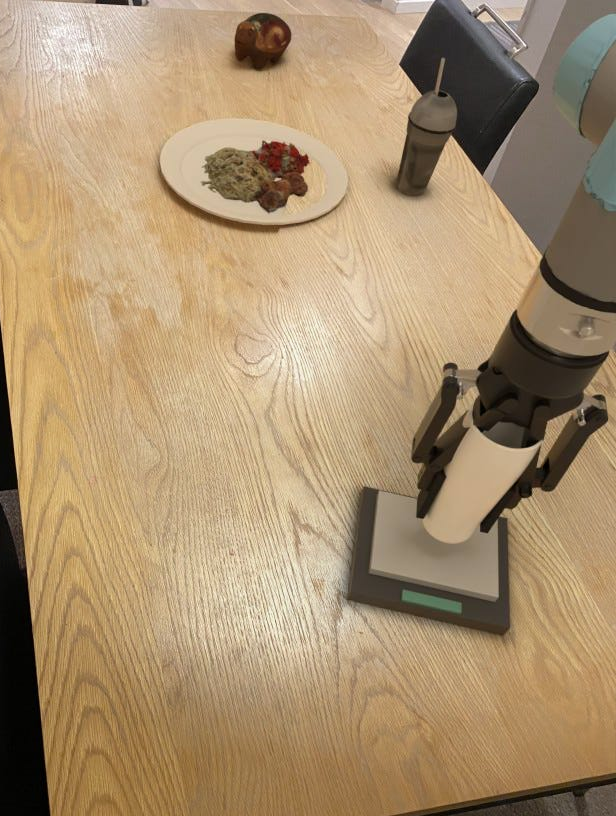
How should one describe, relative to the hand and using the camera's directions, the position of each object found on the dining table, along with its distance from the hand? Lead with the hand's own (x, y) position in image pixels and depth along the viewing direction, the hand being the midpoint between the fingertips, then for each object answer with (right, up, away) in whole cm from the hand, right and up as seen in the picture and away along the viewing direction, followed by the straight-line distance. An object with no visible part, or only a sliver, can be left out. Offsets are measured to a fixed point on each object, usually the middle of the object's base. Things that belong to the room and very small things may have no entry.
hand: (452, 514), depth 75 cm
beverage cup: (+8, +54, +49) cm, 73 cm away
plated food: (-17, +55, +47) cm, 74 cm away
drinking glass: (0, -1, +2) cm, 2 cm away
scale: (-1, -5, +6) cm, 8 cm away
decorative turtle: (-15, +89, +71) cm, 115 cm away
